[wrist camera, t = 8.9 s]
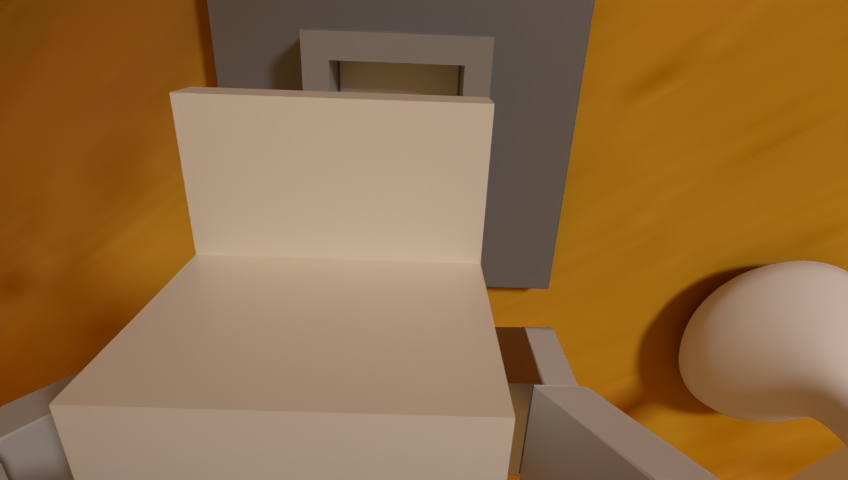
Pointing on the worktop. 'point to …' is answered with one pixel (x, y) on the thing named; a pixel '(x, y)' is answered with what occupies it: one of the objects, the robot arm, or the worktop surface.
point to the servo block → (311, 302)
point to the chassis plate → (439, 88)
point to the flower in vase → (773, 346)
